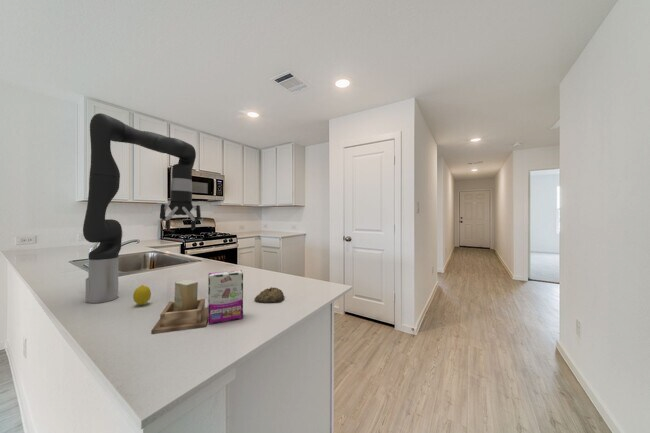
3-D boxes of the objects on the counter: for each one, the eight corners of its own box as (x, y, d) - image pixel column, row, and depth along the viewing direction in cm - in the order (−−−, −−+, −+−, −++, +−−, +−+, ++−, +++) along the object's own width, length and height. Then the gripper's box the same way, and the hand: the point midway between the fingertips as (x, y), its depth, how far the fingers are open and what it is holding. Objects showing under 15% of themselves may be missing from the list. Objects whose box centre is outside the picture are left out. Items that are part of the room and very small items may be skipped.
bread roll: (281, 304, 100) (281, 292, 100) (251, 303, 101) (251, 291, 101) (287, 294, 113) (287, 283, 113) (260, 293, 114) (260, 283, 114)
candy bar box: (241, 313, 90) (241, 269, 90) (243, 319, 86) (243, 272, 85) (207, 319, 85) (208, 272, 85) (207, 325, 80) (208, 275, 80)
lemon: (141, 308, 93) (141, 287, 93) (129, 307, 94) (129, 286, 94) (154, 303, 98) (154, 283, 98) (142, 302, 99) (143, 282, 99)
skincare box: (173, 317, 83) (173, 282, 83) (185, 313, 87) (185, 279, 87) (186, 321, 80) (186, 284, 80) (197, 316, 84) (198, 281, 84)
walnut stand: (151, 333, 74) (151, 317, 74) (164, 314, 88) (164, 300, 88) (206, 326, 79) (206, 311, 79) (210, 309, 93) (210, 296, 93)
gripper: (202, 192, 106) (201, 229, 106) (164, 190, 101) (163, 229, 101) (199, 190, 99) (198, 230, 99) (158, 188, 94) (157, 230, 94)
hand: (180, 229), depth 100 cm, fingers open, 8 cm apart
